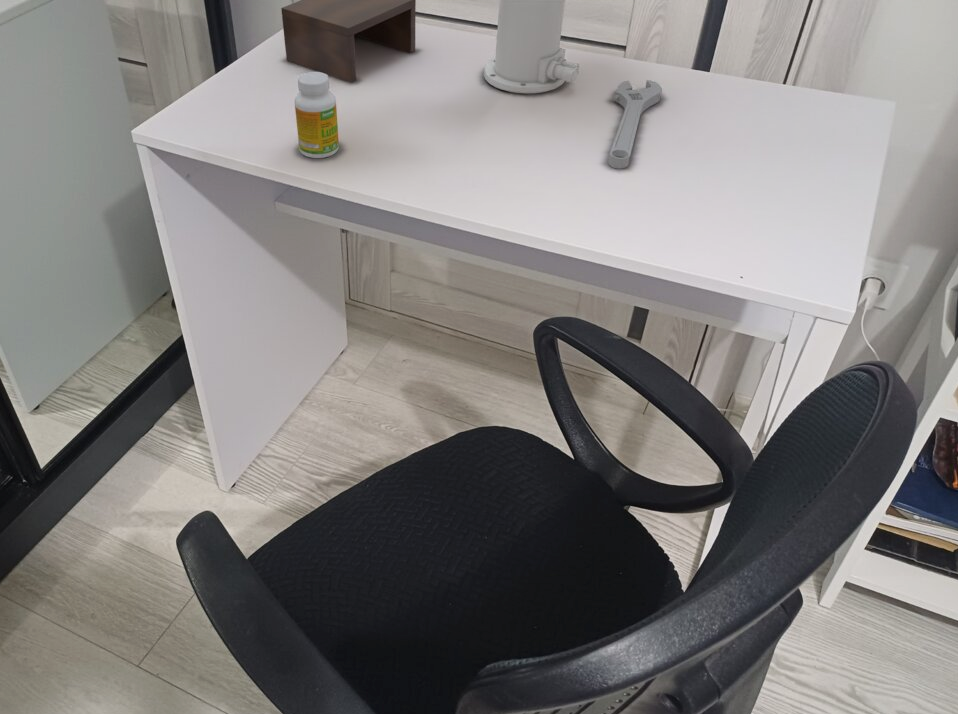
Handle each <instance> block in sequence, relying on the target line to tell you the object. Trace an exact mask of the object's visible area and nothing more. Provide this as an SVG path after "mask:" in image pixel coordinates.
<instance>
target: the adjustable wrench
mask: <svg viewBox="0 0 958 714" xmlns="http://www.w3.org/2000/svg"><path fill="white" fill-rule="evenodd" d="M662 87H663V86H662V85H661V84H659V83H658V82H656V81H655V80H651V79H646V83H645V88H642V89H641V88H640V89H633V88H634V87H633V86H632V83H631V82H630V81H629V80H625V81H622V82H620V83H619V85H618V86H617V88H616V89H617V90H616V89H615V90H613V95H612V101H613V102H616V103H617V104H619V105H620V106H621V107H623V109H624V112H623V115H622V117H621V121H620V123H619V125H618V129H617V132H616V134H615V137H614V140H613V143H612V146H611V149H610V151H609V155H608V161H607V164H608V166H610V167H611V168H613V169H625V168H627V167H628V166H629V163H630V160H631V155H632V151H633V147H634V142H635V138H636V134H637V130H638V127H639V122H640V118H641V115H642V113H643V112H644V111H646V110H647V109H648V108H650V107H651V106H653V105H655V104H657V103H659V102H660V100H661V95H662V91H663V88H662Z"/></svg>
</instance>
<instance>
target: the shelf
mask: <svg viewBox="0 0 958 714" xmlns="http://www.w3.org/2000/svg"><path fill="white" fill-rule="evenodd" d="M416 2H417V1H416V0H298V1H296V2H293V3H290V4H287V5H286V6H282V7H281V8H280V10H281V18H282V19H281V20H282V28H283V29H282V30H283V38H284V40H283V41H284V47H285V58H286V61H287V62H290V63H292V64H295V65H299V66H301V67H305V68H307V69H310V70H312V71H315V72H322V73H325V74H326V75H328V76H331V77H333V78H337V79H339V80H342V81H345V82H348V83H351V84H352V83H354V82H356V81H357V67H356V49H355V48H356V47H355V45H356V44H355V43H356V42H355V37H359V38H361V39H365V40H368V41H370V42H374V43H378V44H381V45H384V46H388V47H391V48H394V49H397V50H401V51H403V52H407V53H410V54H411V53H414V52H415V51H416V8H417V7H416Z"/></svg>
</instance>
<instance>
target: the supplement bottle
mask: <svg viewBox="0 0 958 714" xmlns="http://www.w3.org/2000/svg"><path fill="white" fill-rule="evenodd" d="M297 88H298V91H299V92H297V94H296V95H295V97H294V110H295V120H296V130H297V138H298V139H297V140H298V148H299V152H300V153H301V154H302V155H303V156H305V157H308V158H313V159H323V158H328V157H331V156H333V155H335V154H336V153H337V152H338V151H339V148H340V147H339V146H340V142H339V141H340V140H339V126H338V124H339V123H338V111H337V110H338V109H337V98H336V95H335V94H334V93H333V91H331V90H330V88H331V87H330V77H329V75H327V74H325V73H322V72H319V71H308V72H304V73H301V74H300V75H298V77H297Z"/></svg>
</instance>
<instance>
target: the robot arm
mask: <svg viewBox="0 0 958 714" xmlns="http://www.w3.org/2000/svg"><path fill="white" fill-rule="evenodd" d="M565 6H566V0H499V3H498V16H497V31H496V43H495V57H494V58H493V59H491V60H490V61H488V62H487V63H486V64H485V65H484V69H483V77H484V79H485V81H486V82H487V83H488V84H490V85H491V86H493V87H494V88H496V89H499V90H502V91H504V92H510V93H516V94H541V93H546V92H550V91H553V90H555V89H557V88H559V87H561V86H562V85H563V84H564V83H566V82H567V83H571V84H574V83H575V82H577V79H578V76H579V69H580V65H579V63H575V62H572V61H567V59H566V48H563V47H560V46H561V37H562V29H563V21H564V14H565Z"/></svg>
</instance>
